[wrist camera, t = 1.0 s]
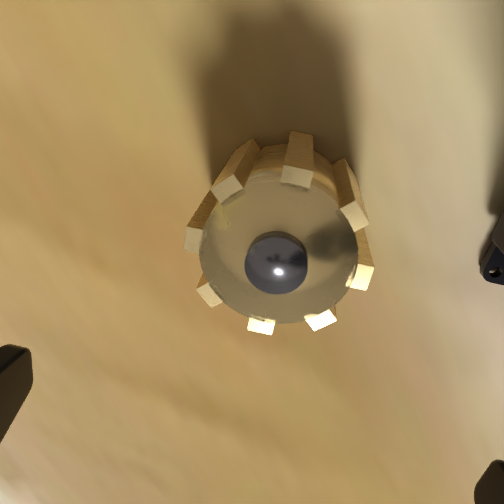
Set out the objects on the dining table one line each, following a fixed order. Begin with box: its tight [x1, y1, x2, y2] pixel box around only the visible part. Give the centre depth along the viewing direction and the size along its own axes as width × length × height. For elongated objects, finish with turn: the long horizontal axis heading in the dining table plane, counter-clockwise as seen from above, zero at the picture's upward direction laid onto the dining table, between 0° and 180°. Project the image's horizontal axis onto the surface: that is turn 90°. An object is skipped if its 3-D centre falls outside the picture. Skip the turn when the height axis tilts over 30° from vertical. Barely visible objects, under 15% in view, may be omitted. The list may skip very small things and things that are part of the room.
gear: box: [184, 131, 374, 335], centre depth 16 cm, size 6×6×6 cm
